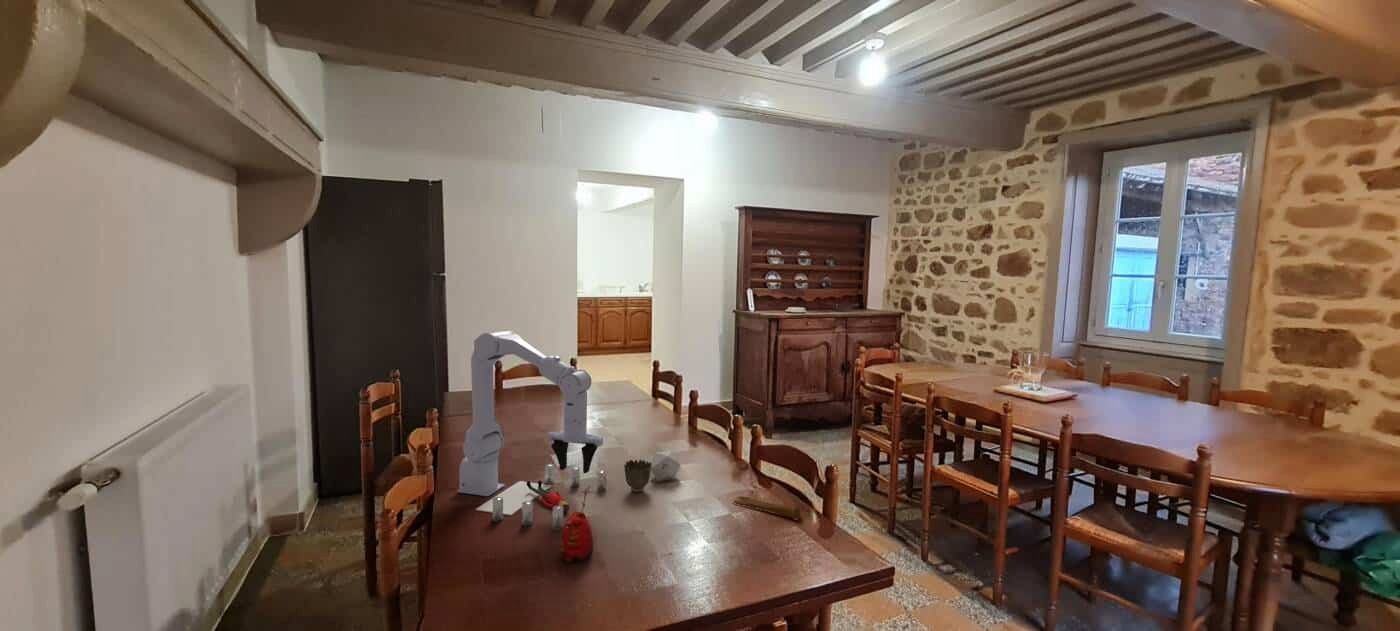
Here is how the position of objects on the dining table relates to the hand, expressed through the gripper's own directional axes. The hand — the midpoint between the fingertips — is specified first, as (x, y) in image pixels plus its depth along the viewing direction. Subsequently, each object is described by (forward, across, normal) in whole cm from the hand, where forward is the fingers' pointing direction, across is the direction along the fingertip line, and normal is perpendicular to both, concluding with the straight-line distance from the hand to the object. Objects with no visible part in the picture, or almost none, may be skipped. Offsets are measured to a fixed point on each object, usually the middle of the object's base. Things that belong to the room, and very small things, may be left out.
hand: (574, 470), depth 147 cm
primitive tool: (+10, +47, +13) cm, 50 cm away
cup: (+10, +12, +14) cm, 21 cm away
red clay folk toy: (+10, +12, -23) cm, 28 cm away
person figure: (+9, -7, 0) cm, 12 cm away
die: (+10, +16, +26) cm, 32 cm away
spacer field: (+9, -7, 0) cm, 12 cm away
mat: (+9, -17, 0) cm, 19 cm away
